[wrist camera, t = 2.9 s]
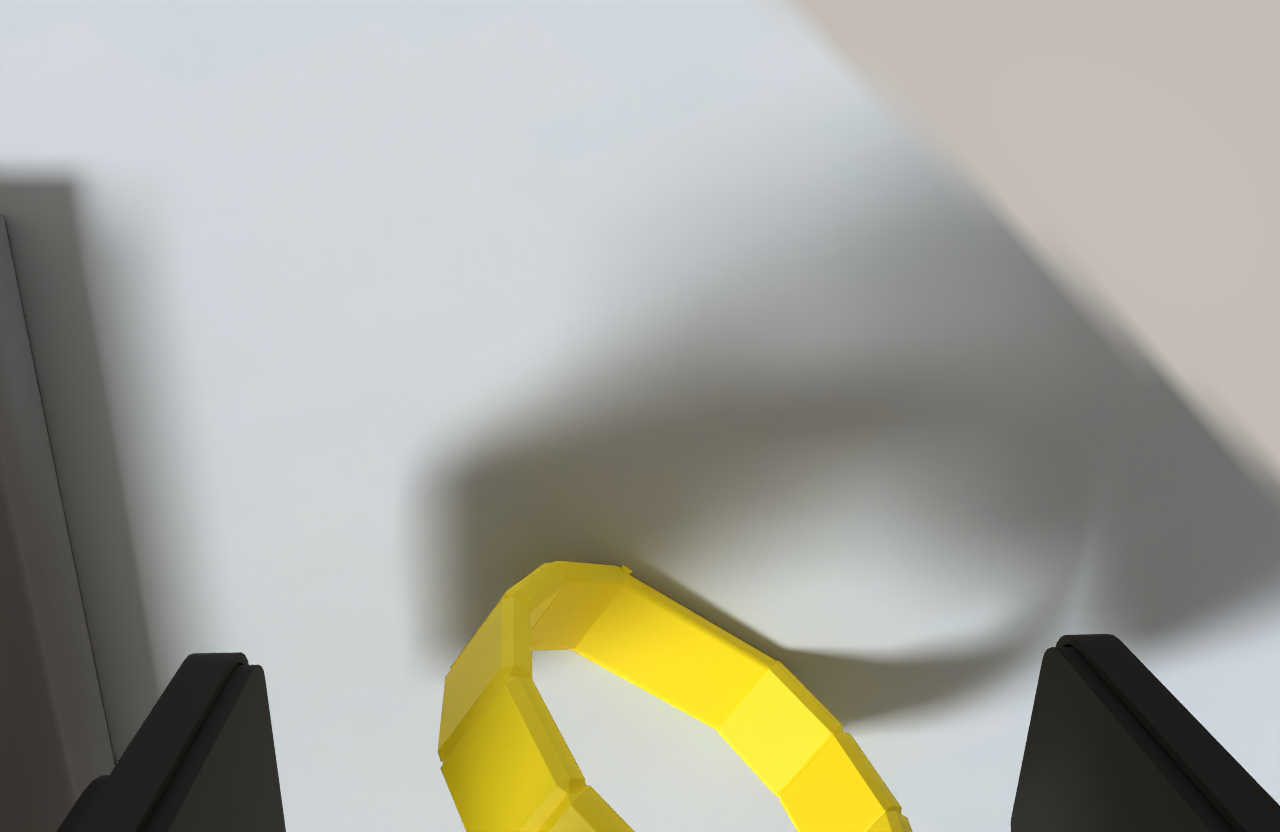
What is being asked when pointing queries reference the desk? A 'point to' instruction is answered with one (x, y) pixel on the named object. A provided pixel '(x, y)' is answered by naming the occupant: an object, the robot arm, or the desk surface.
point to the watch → (658, 663)
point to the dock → (38, 607)
